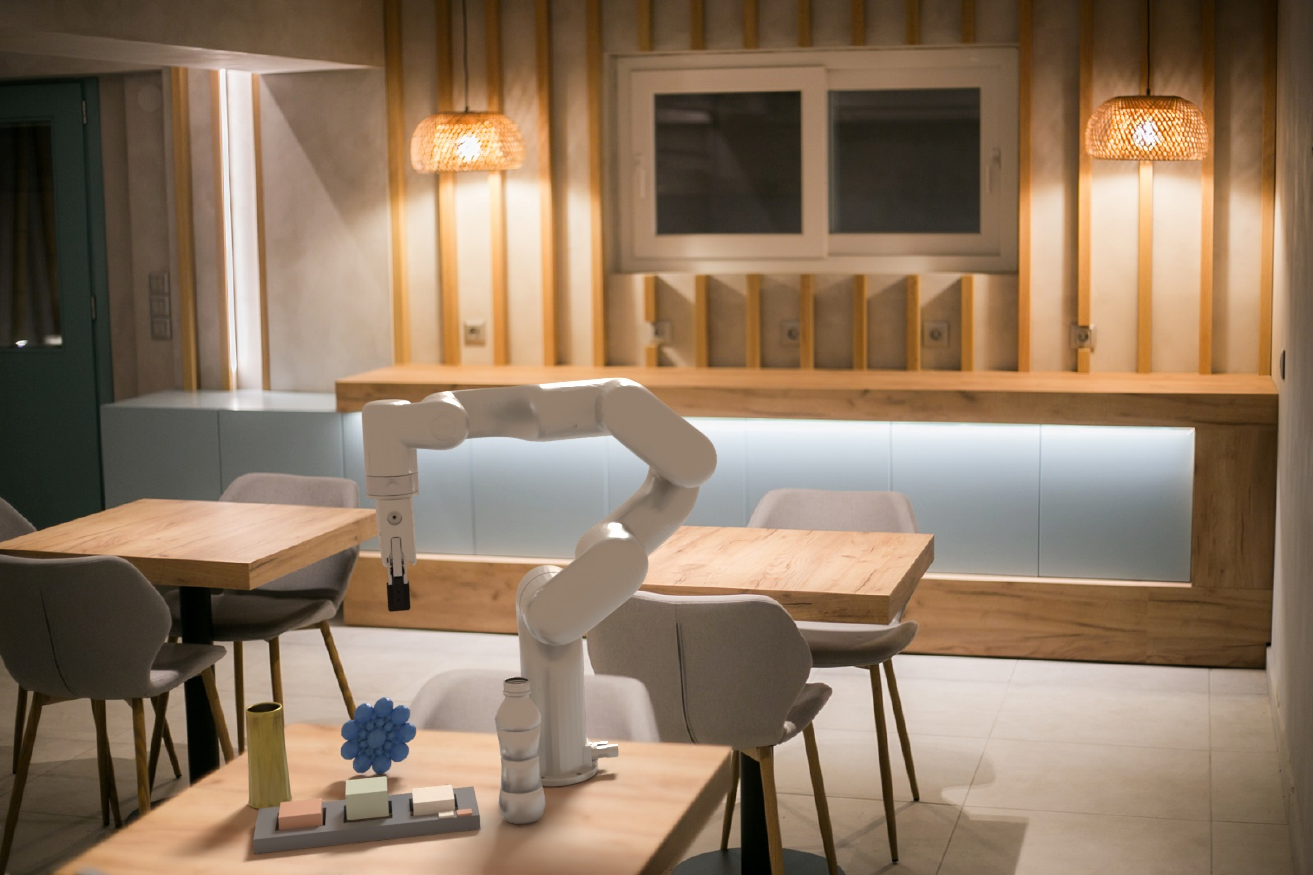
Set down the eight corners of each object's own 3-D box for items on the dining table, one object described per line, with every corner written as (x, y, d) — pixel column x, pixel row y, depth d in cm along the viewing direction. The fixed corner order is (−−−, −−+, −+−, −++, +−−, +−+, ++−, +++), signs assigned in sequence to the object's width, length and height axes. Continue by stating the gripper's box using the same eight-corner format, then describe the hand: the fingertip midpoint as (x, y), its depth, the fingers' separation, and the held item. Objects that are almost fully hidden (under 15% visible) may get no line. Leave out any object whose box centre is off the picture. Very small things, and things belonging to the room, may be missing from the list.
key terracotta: (323, 822, 201) (321, 798, 201) (322, 838, 196) (320, 813, 195) (282, 827, 200) (280, 802, 199) (280, 843, 194) (278, 817, 194)
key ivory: (453, 808, 204) (451, 784, 204) (455, 823, 199) (454, 799, 199) (413, 813, 203) (411, 788, 203) (414, 828, 198) (413, 803, 197)
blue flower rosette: (421, 762, 224) (417, 687, 222) (416, 778, 217) (412, 701, 216) (346, 765, 223) (342, 690, 222) (339, 781, 217) (334, 704, 215)
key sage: (388, 800, 202) (386, 776, 202) (388, 815, 197) (387, 790, 197) (347, 805, 201) (345, 780, 201) (347, 820, 196) (345, 795, 195)
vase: (280, 811, 206) (273, 714, 204) (240, 809, 207) (234, 713, 205) (299, 795, 212) (292, 701, 210) (260, 793, 213) (254, 700, 211)
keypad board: (474, 799, 208) (473, 784, 207) (480, 828, 197) (479, 812, 197) (259, 822, 202) (258, 806, 202) (254, 853, 191) (253, 837, 191)
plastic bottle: (510, 833, 195) (503, 690, 193) (492, 816, 201) (485, 678, 199) (554, 823, 198) (547, 682, 196) (534, 807, 204) (528, 670, 202)
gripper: (420, 492, 201) (427, 620, 203) (416, 476, 215) (423, 596, 218) (366, 495, 199) (373, 624, 202) (365, 479, 214) (372, 599, 216)
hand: (399, 609), depth 210 cm, fingers closed
